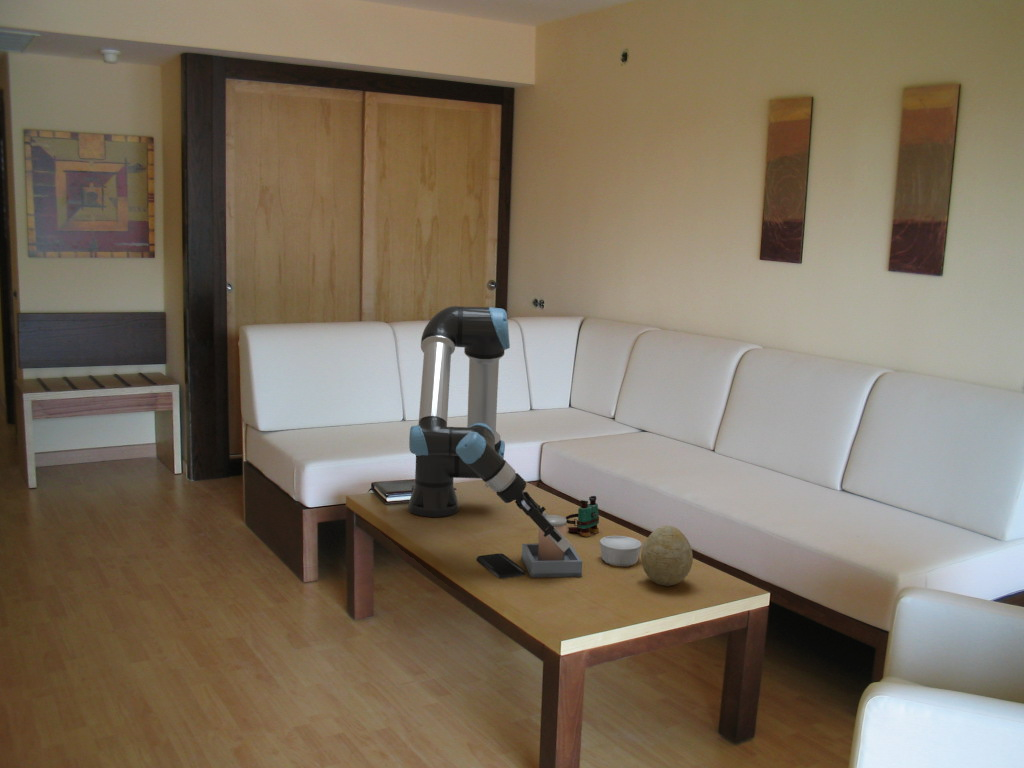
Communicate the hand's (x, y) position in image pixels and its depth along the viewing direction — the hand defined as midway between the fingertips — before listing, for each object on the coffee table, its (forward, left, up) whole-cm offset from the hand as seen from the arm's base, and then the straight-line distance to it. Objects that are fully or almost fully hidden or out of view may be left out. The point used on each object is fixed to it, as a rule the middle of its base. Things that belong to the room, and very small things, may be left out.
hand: (562, 539), depth 246 cm
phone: (-1, -16, -8) cm, 18 cm away
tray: (0, -3, -7) cm, 8 cm away
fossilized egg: (+13, +24, -8) cm, 28 cm away
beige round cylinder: (0, -3, -6) cm, 7 cm away
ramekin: (-4, +17, -8) cm, 19 cm away
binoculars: (-28, +12, -8) cm, 31 cm away
